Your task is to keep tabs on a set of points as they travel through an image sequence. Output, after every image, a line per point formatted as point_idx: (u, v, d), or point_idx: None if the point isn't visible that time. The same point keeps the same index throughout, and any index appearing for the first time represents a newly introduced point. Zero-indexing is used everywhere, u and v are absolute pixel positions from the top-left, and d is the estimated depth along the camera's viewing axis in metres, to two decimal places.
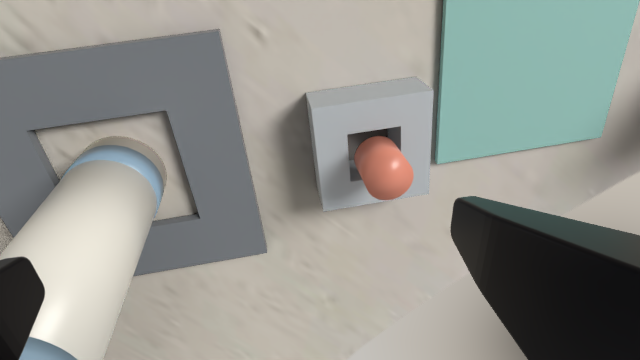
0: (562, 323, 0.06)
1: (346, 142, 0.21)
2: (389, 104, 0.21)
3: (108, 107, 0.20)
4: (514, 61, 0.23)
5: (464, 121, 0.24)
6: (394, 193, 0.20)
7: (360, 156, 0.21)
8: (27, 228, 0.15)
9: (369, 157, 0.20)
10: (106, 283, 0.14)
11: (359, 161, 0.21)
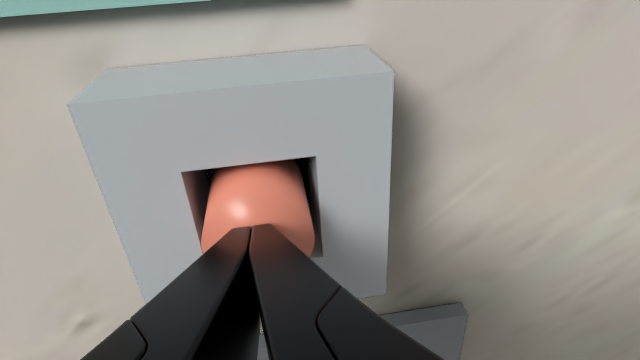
0: None
1: None
2: (126, 203, 0.09)
3: None
4: None
5: None
6: (298, 229, 0.09)
7: None
8: None
9: None
10: None
11: None
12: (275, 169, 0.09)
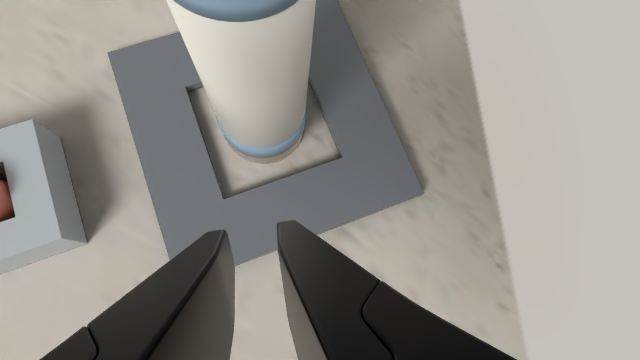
0: None
1: (15, 207, 0.19)
2: None
3: (274, 192, 0.22)
4: None
5: None
6: None
7: None
8: (288, 93, 0.16)
9: None
10: (190, 51, 0.13)
11: None
12: None
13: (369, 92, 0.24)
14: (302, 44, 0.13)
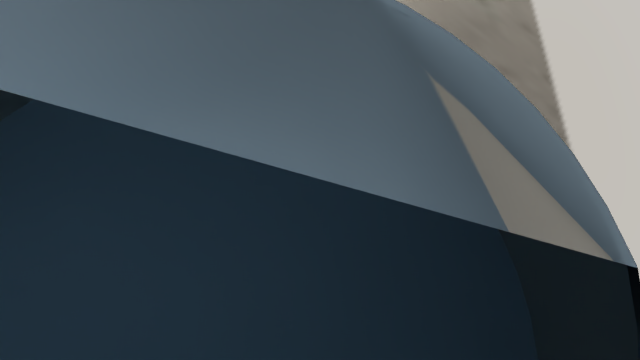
0: None
1: None
2: None
3: None
4: None
5: None
6: None
7: None
8: None
9: None
10: None
11: None
12: None
13: None
14: None
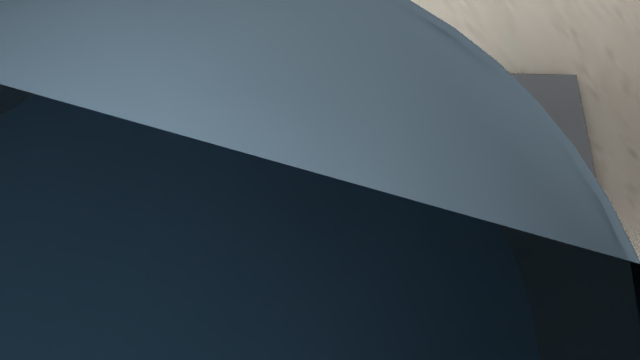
0: None
1: None
2: None
3: None
4: None
5: None
6: None
7: None
8: None
9: None
10: None
11: None
12: None
13: None
14: None
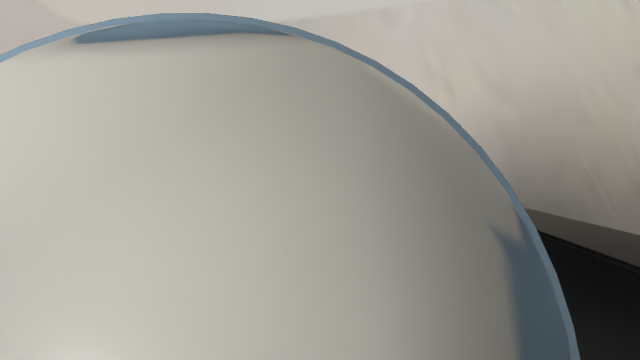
0: None
1: None
2: None
3: None
4: None
5: None
6: None
7: None
8: None
9: None
10: None
11: None
12: None
13: None
14: None
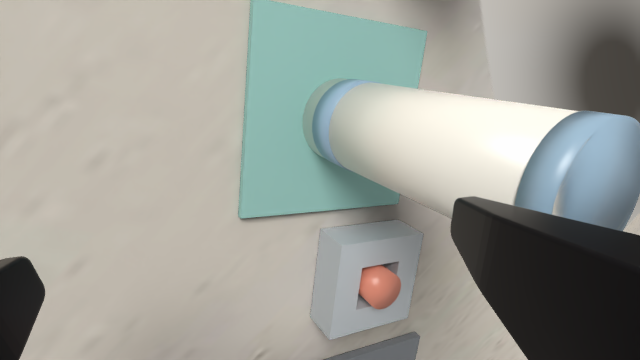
0: (562, 323, 0.06)
1: (361, 309, 0.25)
2: (342, 280, 0.24)
3: None
4: None
5: (369, 183, 0.25)
6: (397, 285, 0.25)
7: (359, 294, 0.26)
8: (411, 199, 0.16)
9: (364, 298, 0.25)
10: (451, 128, 0.13)
11: None
12: (382, 265, 0.26)
13: None
14: None
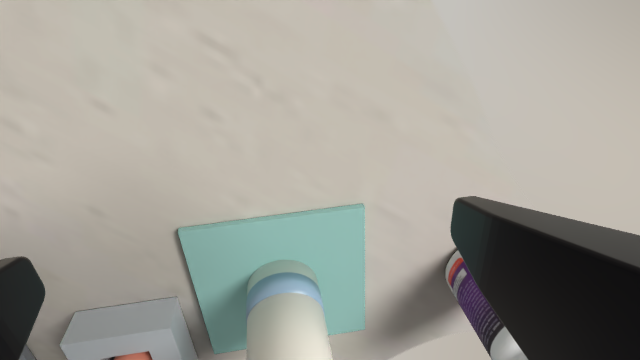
0: (562, 323, 0.06)
1: None
2: (132, 338, 0.24)
3: None
4: None
5: (229, 325, 0.28)
6: None
7: None
8: None
9: None
10: None
11: None
12: None
13: None
14: None
